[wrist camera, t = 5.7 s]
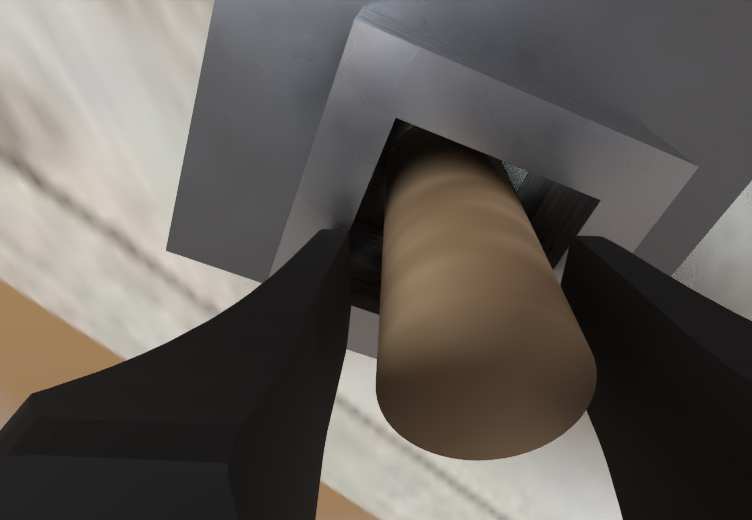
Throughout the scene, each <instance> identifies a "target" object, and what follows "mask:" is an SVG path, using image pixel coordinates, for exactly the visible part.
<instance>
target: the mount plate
mask: <svg viewBox="0 0 752 520" xmlns="http://www.w3.org/2000/svg"><path fill="white" fill-rule="evenodd" d="M395 118H398V119H400V120H403V121H405V122H408V123H410V124H413V125H415V126H418V127H420V128H423V129H425V130H428V131H430V132H433V133H435V134H438V135H440V136H443V137H445V138H448V139H450V140H453V141H455V142H458V143H460V144H463V145H465V146H468V147H470V148H472V149H475V150H477V151H480V152H482V153H485V154H487V155H490V156H492V157H495V158H497V159H500V160H502V161H505V162H507V163H510V164H512V165H515V166H517V167H520V168H522V169H525V170H527V171H529V173H528V175H527V176H526V178H525V180H524V182H523V183H522V185H521V187H520V188H519V190H518V192H517V196H518V198H519V200H520V202H521V204H522V207H523V209H524V211H525V213H526V215H527V217H528V219H529V221H530V223H531V225H532V228H533V230H534V232H535V234H536V236H537V238H538V240H539V242H540V244H541V246H542V249H543V251H544V253H545V255H546V257H547V259H548V261H549V263H550V265H551V267H552V270H553V272H554V274H555V276H556V278H557V280H558V282H559V284H561V279H562V275H563V271H564V266H565V262H566V258H567V253H568V249H569V245H570V240H571V236H572V235H576V236H602V237H604V238H606V239H608V240H610V241H612V242H614V243H616V244H618V245H619V246H621V247H623V248H625V249H626V250H628V251H630V252H631V253H633V254H634V255H636V256H638V257H639V258H641V259H643V260H644V261H646V262H647V263H649V264H651V265H652V266H654V267H655V268H657V269H659V270H660V271H662V272H664V273H665V274H667V275H669V276H670V277H671V275H672V274H673V273H674V272H675V271H676V270H677V268H678V267H679V266H680V265H681V264H682V262H683V261H684V260H685V259H686V258H687V256H688V255H689V254H690V253H691V252H692V250H693V249H694V248H695V247H696V246H697V245H698V243H699V242H700V241H701V240H702V239H703V237H704V236H705V235H706V234H707V233H708V231H709V230H710V229H711V228H712V227H713V226H714V224H715V223H716V222H717V221H718V220H719V218H720V217H721V216H722V215H723V214H724V212H725V211H726V210H727V209H728V208H729V207H730V205H731V204H732V203H733V202H734V201H735V199H736V198H737V197H738V196H739V195H740V193H741V192H742V191H743V190H744V189H745V188H746V186H747V185H748V184H749V183H750V182H751V180H752V0H215V2H214V7H213V12H212V17H211V22H210V27H209V33H208V38H207V43H206V48H205V53H204V58H203V63H202V68H201V73H200V79H199V84H198V89H197V94H196V99H195V104H194V109H193V114H192V120H191V125H190V130H189V135H188V140H187V145H186V150H185V155H184V160H183V166H182V171H181V176H180V181H179V186H178V191H177V196H176V201H175V207H174V212H173V217H172V222H171V227H170V232H169V237H168V242H167V248H166V251H169V252H172V253H175V254H178V255H181V256H184V257H187V258H190V259H193V260H196V261H198V262H201V263H204V264H207V265H210V266H213V267H216V268H219V269H222V270H225V271H228V272H231V273H234V274H237V275H240V276H243V277H246V278H249V279H252V280H255V281H258V282H261V283H263V282H265V281H266V280H267V279H268V278H269V277H271V276H272V275H273V274H274V273H275V272H277V271H278V270H279V269H280V268H281V267H282V266H283V265H284V264H285V263H286V262H287V261H288V260H290V259H291V258H292V257H293V256H294V255H295V254H296V253H297V252H298V251H299V250H300V249H301V248H302V247H303V246H304V245H305V244H306V243H307V242H308V241H309V240H310V239H311V238H312V237H313V236H314V235H315V234H316V233H317V232H318V231H319V230H321V229H341V230H349V246H350V283H351V313H350V324H349V333H348V343H347V348H346V349H348V350H351V351H354V352H357V353H361V354H364V355H367V356H370V357H373V358H376V359H377V352H378V332H379V313H380V293H381V273H382V253H383V233H384V230H381V229H378V228H375V227H373V226H370V225H367V224H364V223H362V222H359V221H356V220H354V218H355V216H356V213H357V211H358V208H359V206H360V204H361V201H362V199H363V196H364V194H365V191H366V189H367V187H368V184H369V182H370V179H371V177H372V174H373V172H374V169H375V167H376V165H377V162H378V160H379V157H380V155H381V152H382V150H383V148H384V145H385V143H386V140H387V138H388V135H389V133H390V130H391V128H392V126H393V123H394V121H395Z"/></svg>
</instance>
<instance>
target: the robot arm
mask: <svg viewBox="0 0 752 520" xmlns="http://www.w3.org/2000/svg"><path fill="white" fill-rule="evenodd" d="M560 286H561V288H562V291H563V293H564V295H565V297H566V299H567V301H568V303H569V305H570V307H571V309H572V312H573V314H574V316H575V318H576V320H577V322H578V324H579V326H580V328H581V330H582V333H583V335H584V337H585V339H586V341H587V343H588V345H589V347H590V350H591V352H592V354H593V356H594V360H595V364H596V370H597V381H596V388H595V391H594V394H593V397H592V400H591V402H590V404H589V406H588V408H587V409H586V410H587V413H588V415H589V417H590V420H591V422H592V425H593V427H594V429H595V432H596V434H597V437H598V439H599V442H600V444H601V447H602V450H603V453H604V456H605V458H606V461H607V464H608V468H609V471H610V475H611V478H612V482H613V485H614V489H615V492H616V496H617V499H618V503H619V506H620V510H621V514H622V518H623V520H752V321H750V320H748V319H746V318H744V317H742V316H740V315H738V314H736V313H734V312H732V311H730V310H728V309H727V308H725V307H723V306H721V305H719V304H717V303H716V302H714V301H712V300H710V299H708V298H706V297H704V296H703V295H701V294H699V293H697V292H696V291H694V290H692V289H690V288H689V287H687V286H685V285H684V284H682V283H680V282H678V281H677V280H675V279H673V278H672V277H670V276H669V275H667V274H665V273H664V272H662V271H660V270H659V269H657V268H655V267H654V266H652V265H651V264H649V263H647V262H646V261H644V260H643V259H641V258H639V257H638V256H636V255H634V254H633V253H631V252H630V251H628V250H626V249H625V248H623V247H621V246H619V245H618V244H616V243H614V242H612V241H610V240H608V239H606V238H604V237H602V236H576V235H572V236H571V240H570V245H569V249H568V253H567V258H566V262H565V266H564V271H563V275H562V279H561V284H560ZM350 313H351V283H350V246H349V230H341V229H321V230H319V231H318V232H317V233H316V234H315V235H314V236H313V237H312V238H311V239H310V240H309V241H308V242H307V243H306V244H305V245H304V246H303V247H302V248H301V249H300V250H299V251H298V252H297V253H296V254H295V255H294V256H293V257H292V258H291V259H290V260H288V261H287V262H286V263H285V264H284V265H283V266H282V267H281V268H280V269H279V270H278V271H277V272H275V273H274V274H273V275H272V276H271V277H269V278H268V279H267V280H266V281H265V282H263V283H262V284H261V285H260V286H258V287H257V288H256V289H255V290H254V291H252V292H251V293H250V294H248V295H247V296H246V297H244V298H243V299H241V300H240V301H239V302H237V303H236V304H234V305H233V306H231V307H230V308H228V309H226V310H225V311H223V312H222V313H220V314H219V315H217V316H216V317H214V318H212V319H210V320H209V321H207V322H205V323H203V324H201V325H200V326H198V327H196V328H194V329H192V330H190V331H188V332H186V333H185V334H183V335H181V336H179V337H177V338H175V339H173V340H171V341H170V342H168V343H165V344H163V345H161V346H159V347H157V348H155V349H152V350H150V351H148V352H146V353H144V354H141V355H139V356H136V357H134V358H132V359H129V360H127V361H124V362H122V363H119V364H117V365H115V366H112V367H109V368H107V369H104V370H101V371H99V372H96V373H93V374H90V375H87V376H84V377H81V378H78V379H75V380H72V381H69V382H66V383H63V384H60V385H58V386H55V387H52V388H49V389H45V390H42V391H39V392H36V393H32V394H31V395H30V396H29V397H28V398H27V399H26V401H25V402H24V403H23V404H22V405H21V406H20V408H19V409H18V410H17V411H16V413H15V414H14V415H13V416H12V417H11V418H10V420H9V421H8V422H7V423H6V424H5V426H4V427H3V428H2V429H1V430H0V520H315V517H316V509H317V501H318V492H319V484H320V476H321V469H322V461H323V453H324V447H325V441H326V436H327V430H328V426H329V422H330V417H331V413H332V409H333V405H334V400H335V396H336V392H337V388H338V383H339V379H340V375H341V370H342V366H343V362H344V357H345V353H346V348H347V343H348V333H349V324H350Z"/></svg>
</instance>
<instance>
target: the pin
mask: <svg viewBox="0 0 752 520" xmlns="http://www.w3.org/2000/svg"><path fill="white" fill-rule="evenodd" d="M596 381H597V370H596V364H595V360H594V356H593V354H592V352H591V350H590V347H589V345H588V343H587V341H586V339H585V337H584V335H583V333H582V330H581V328H580V326H579V324H578V322H577V320H576V318H575V316H574V314H573V312H572V309H571V307H570V305H569V303H568V301H567V299H566V297H565V295H564V293H563V291H562V288H561V286H560V284H559V282H558V280H557V278H556V276H555V274H554V272H553V270H552V267H551V265H550V263H549V261H548V259H547V257H546V255H545V253H544V251H543V249H542V246H541V244H540V242H539V240H538V238H537V236H536V234H535V232H534V230H533V228H532V225H531V223H530V221H529V219H528V217H527V215H526V213H525V211H524V209H523V207H522V204H521V202H520V200H519V198H518V196H517V194H516V192H515V190H514V188H513V186H512V183H511V181H510V179H509V177H508V175H507V173H506V171H505V169H504V167H503V165H502V162H501V160H500V159H497V158H495V157H492V156H490V155H487V154H485V153H482V152H480V151H477V150H475V149H472V148H470V147H468V146H465V145H463V144H460V143H458V142H455V141H453V140H450V139H448V138H445V137H443V136H440V135H438V134H435V133H433V132H430V131H428V130H425V129H423V128H420V127H418V126H413V127H412V128H411V129H409V130H408V131H407V132H405V133H404V134H403V135H402V136H401V137H400V139H399V140H398V141H397V142H396V144H395V145H394V147H393V149H392V151H391V153H390V156H389V159H388V164H387V174H386V194H385V214H384V233H383V253H382V273H381V293H380V313H379V332H378V352H377V372H376V395H377V401H378V404H379V407H380V409H381V412H382V413H383V415H384V417H385V419H386V420H387V421H388V423H389V424H390V425H391V427H392V428H393V429H394V430H395V431H396V432H397V433H398V434H399V435H401V436H402V437H403V438H405V439H406V440H407V441H409V442H411V443H412V444H414V445H416V446H418V447H419V448H422V449H424V450H426V451H429V452H431V453H435V454H438V455H441V456H445V457H450V458H455V459H463V460H494V459H501V458H507V457H512V456H517V455H520V454H523V453H527V452H530V451H532V450H535V449H537V448H540V447H542V446H544V445H546V444H548V443H550V442H551V441H553V440H555V439H556V438H558V437H559V436H561V435H562V434H564V433H565V432H566V431H567V430H568V429H570V428H571V427H572V426H573V425H574V424H575V423H576V422H577V421H578V420H579V419H580V418H581V416H582V415H583V413H584V412H585V411H586V409H587V408H588V406H589V404H590V402H591V400H592V397H593V394H594V391H595V388H596Z"/></svg>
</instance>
